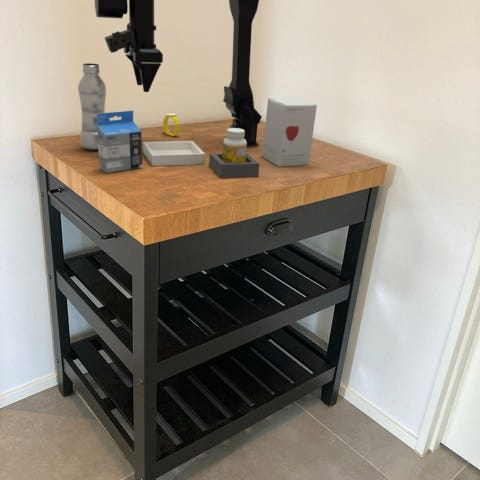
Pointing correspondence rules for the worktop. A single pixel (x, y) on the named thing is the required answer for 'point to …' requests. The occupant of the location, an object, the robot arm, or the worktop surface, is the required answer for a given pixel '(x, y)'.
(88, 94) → the plastic bottle
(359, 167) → the worktop surface
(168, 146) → the tray
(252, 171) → the socket collar
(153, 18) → the robot arm
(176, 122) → the watch
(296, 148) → the supplement box
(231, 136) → the supplement bottle
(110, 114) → the label tape box
